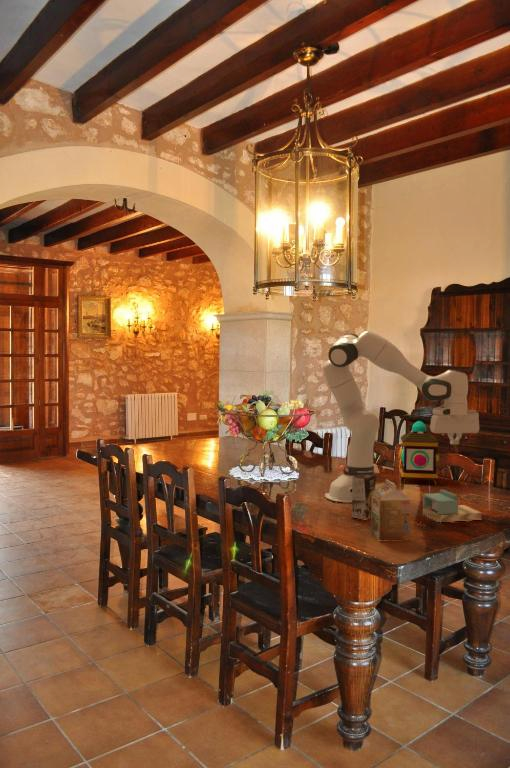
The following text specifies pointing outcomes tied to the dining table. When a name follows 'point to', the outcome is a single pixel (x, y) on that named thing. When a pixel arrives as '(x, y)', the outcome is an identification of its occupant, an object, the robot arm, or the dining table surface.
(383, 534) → the milk carton
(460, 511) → the housing base
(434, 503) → the jaw block
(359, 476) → the coffee box
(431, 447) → the decorative lantern
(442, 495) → the cover
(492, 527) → the dining table surface
